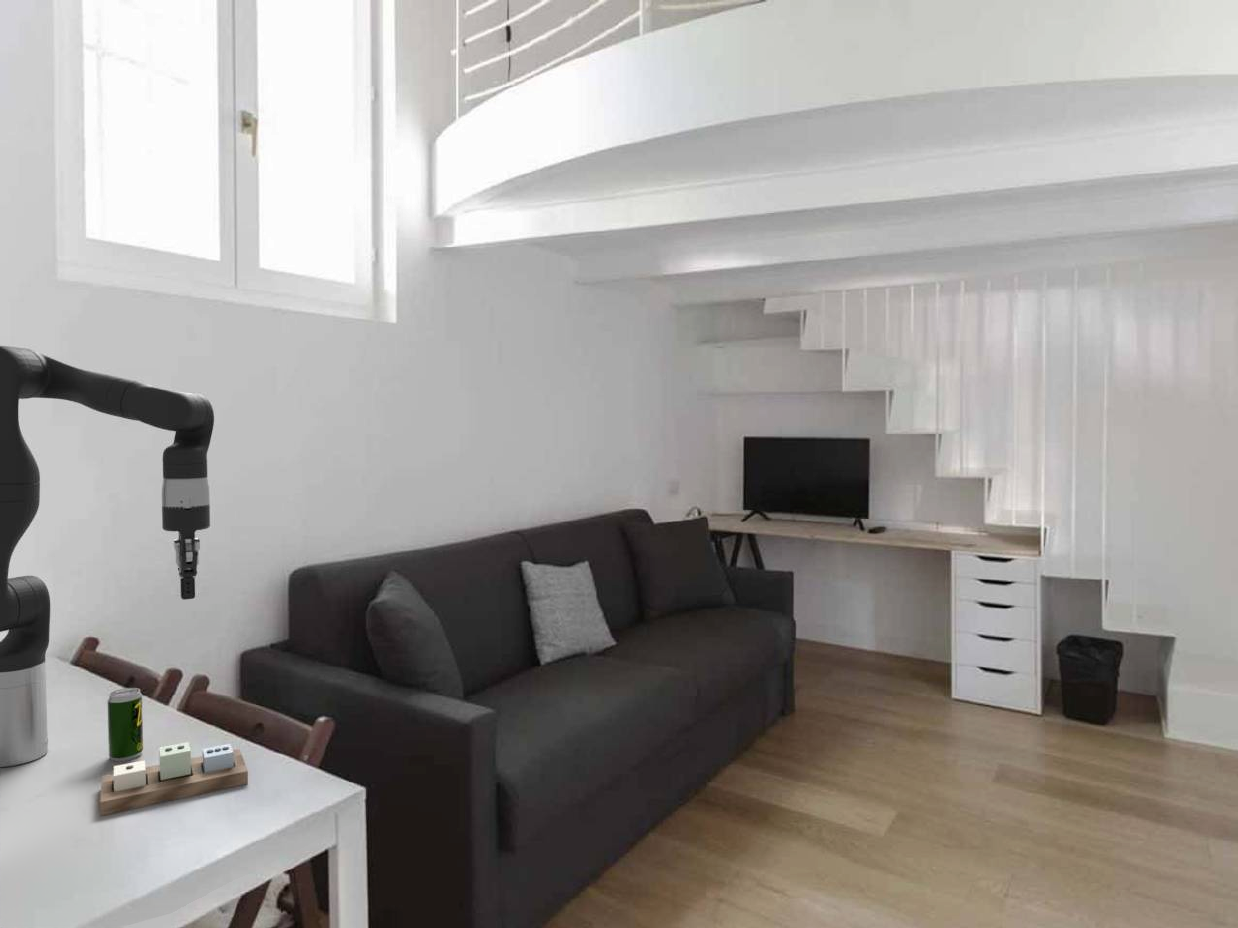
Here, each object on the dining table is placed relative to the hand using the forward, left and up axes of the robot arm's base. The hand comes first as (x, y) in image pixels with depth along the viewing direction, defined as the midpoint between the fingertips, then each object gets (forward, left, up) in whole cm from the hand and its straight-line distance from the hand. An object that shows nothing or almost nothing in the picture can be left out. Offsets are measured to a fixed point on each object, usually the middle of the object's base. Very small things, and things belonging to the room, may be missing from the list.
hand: (187, 598), depth 141 cm
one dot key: (-10, -10, -29) cm, 32 cm away
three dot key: (+4, -10, -29) cm, 31 cm away
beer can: (-10, +9, -30) cm, 33 cm away
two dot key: (-3, -10, -28) cm, 30 cm away
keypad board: (-3, -10, -30) cm, 32 cm away
